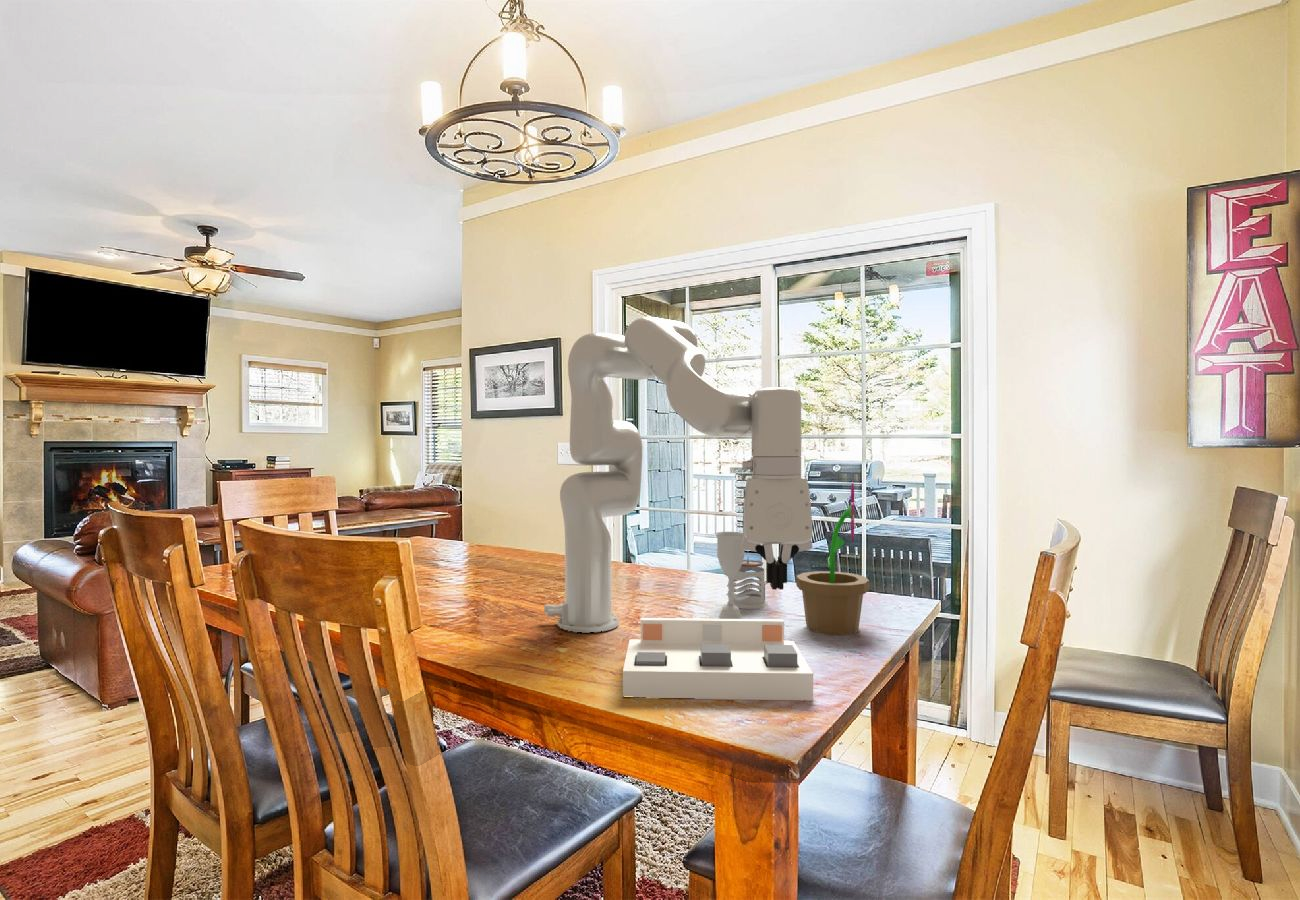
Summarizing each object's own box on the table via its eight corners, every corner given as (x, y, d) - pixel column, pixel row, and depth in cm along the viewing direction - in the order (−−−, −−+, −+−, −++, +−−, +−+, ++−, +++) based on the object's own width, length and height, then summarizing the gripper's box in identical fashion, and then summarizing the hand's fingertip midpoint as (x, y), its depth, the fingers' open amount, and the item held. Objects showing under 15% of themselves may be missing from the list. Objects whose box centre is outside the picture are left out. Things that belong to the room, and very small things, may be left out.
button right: (768, 673, 101) (768, 653, 101) (764, 663, 106) (764, 644, 106) (797, 673, 101) (797, 653, 101) (792, 663, 106) (792, 644, 105)
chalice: (712, 612, 149) (712, 531, 149) (742, 612, 149) (742, 531, 149) (718, 621, 142) (718, 536, 141) (749, 620, 142) (750, 536, 142)
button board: (622, 698, 99) (622, 644, 99) (629, 662, 115) (629, 616, 115) (813, 700, 98) (813, 646, 98) (793, 664, 114) (793, 617, 114)
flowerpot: (869, 641, 128) (870, 484, 128) (793, 634, 132) (793, 482, 132) (868, 621, 142) (868, 479, 141) (799, 616, 146) (799, 478, 145)
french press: (726, 598, 163) (726, 495, 162) (774, 599, 162) (775, 495, 161) (727, 608, 153) (727, 498, 153) (778, 609, 152) (779, 499, 152)
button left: (635, 680, 102) (635, 661, 102) (637, 670, 106) (637, 652, 106) (664, 681, 102) (664, 661, 102) (665, 671, 106) (665, 652, 106)
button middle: (701, 672, 102) (701, 652, 102) (700, 662, 106) (700, 643, 106) (730, 672, 101) (730, 652, 101) (728, 663, 106) (728, 644, 106)
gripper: (729, 469, 100) (729, 592, 100) (830, 469, 99) (831, 593, 99) (725, 467, 107) (726, 582, 107) (820, 467, 106) (820, 583, 107)
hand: (776, 587), depth 103 cm, fingers closed
